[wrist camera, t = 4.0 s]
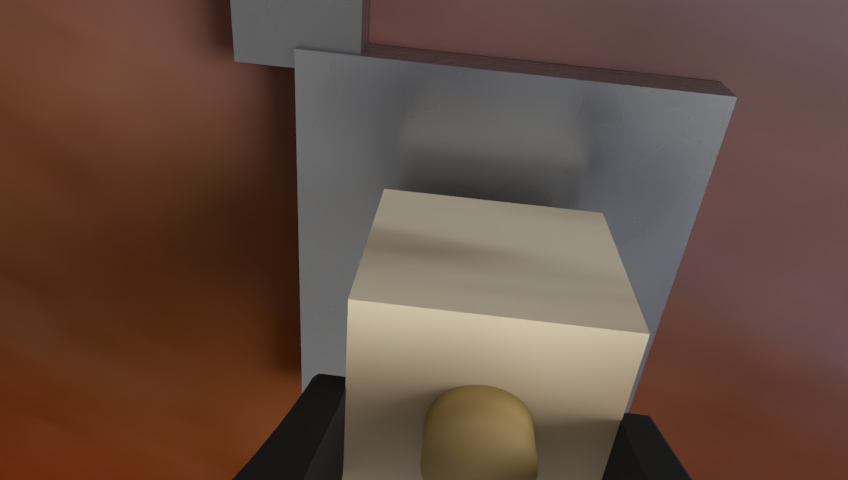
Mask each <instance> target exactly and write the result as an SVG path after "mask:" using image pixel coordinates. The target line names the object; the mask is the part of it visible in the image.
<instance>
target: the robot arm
mask: <svg viewBox="0 0 848 480" xmlns="http://www.w3.org/2000/svg"><path fill="white" fill-rule="evenodd" d="M345 379H346V377H343V376H335V375H328V374H320V373H319V374H317V375H315V376H314V377H313V378H312V379H311V381H310V383H309V384H308V386H307V387H306V389H305V390H304V392H303V393H302V395H301V396H300V397H299V399H298V400H297V402H296V403H295V404H294V406H293V407H292V409H291V410H290V411H289V413H288V414H287V415H286V416H285V418H284V419H283V420H282V422H281V423H280V424H279V426H278V427H277V428H276V429H275V431H274V432H273V433H272V434H271V435H270V437H269V438H268V439H267V440H266V442H265V443H264V444H263V445H262V446H261V448H260V449H259V450H258V451H257V452H256V454H255V455H254V456H253V457H252V458H251V460H250V461H249V462H248V463H247V464H246V465H245V466H244V467H243V468H242V469H241V471H240V472H239V473H238V474H237V475H236V476H235V477H234V478H233V479H232V480H342V476H343V463H344V432H345V402H346V387H345ZM602 480H692V479H691V477H690V476H689V474H688V473H687V471H686V470H685V468H684V467H683V465H682V464H681V462H680V461H679V459H678V458H677V456H676V455H675V453H674V452H673V450H672V449H671V447H670V446H669V444H668V443H667V441H666V440H665V438H664V437H663V435H662V434H661V432H660V431H659V429H658V427H657V426H656V424H655V423H654V421H653V420H652V419H651V417H650V416H647V415H639V414H631V413H624V415H623V418H622V420H621V422H620V425H619V428H618V431H617V434H616V437H615V440H614V443H613V446H612V449H611V452H610V455H609V458H608V462H607V465H606V468H605V471H604V474H603V477H602Z"/></svg>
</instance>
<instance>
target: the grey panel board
mask: <svg viewBox="0 0 848 480" xmlns="http://www.w3.org/2000/svg"><path fill="white" fill-rule="evenodd" d="M230 5H231V19H232V33H233V47H234V61H235V62H244V63H253V64H262V65H271V66H280V67H289V68H295V104H296V148H297V191H298V235H299V279H300V323H301V367H302V393H303V392H304V390H305V389H306V387H307V386H308V384H309V383H310V381H311V379H312V378H313V377H314V376H315V375H317V374H319V373H320V374H328V375H335V376H343V377H346V348H347V316H348V298H349V295H350V292H351V289H352V286H353V283H354V279H355V276H356V273H357V270H358V267H359V264H360V261H361V258H362V255H363V252H364V249H365V246H366V243H367V240H368V237H369V234H370V231H371V227H372V224H373V221H374V218H375V215H376V212H377V209H378V206H379V203H380V200H381V197H382V194H383V191H384V189H391V190H400V191H409V192H418V193H427V194H436V195H445V196H454V197H463V198H472V199H481V200H490V201H499V202H509V203H518V204H527V205H536V206H545V207H554V208H563V209H572V210H581V211H590V212H599V213H603V215H604V217H605V220H606V222H607V225H608V228H609V230H610V233H611V235H612V238H613V240H614V243H615V246H616V248H617V251H618V253H619V256H620V258H621V261H622V264H623V266H624V269H625V271H626V274H627V276H628V279H629V282H630V284H631V287H632V289H633V292H634V294H635V297H636V300H637V302H638V305H639V307H640V310H641V312H642V315H643V318H644V320H645V323H646V325H647V328H648V330H649V333H650V336H649V339H648V342H647V345H646V348H645V351H644V354H643V357H642V360H641V363H640V366H639V369H638V372H637V375H636V379H635V382H634V385H633V388H632V391H631V394H630V397H629V400H628V403H627V406H626V409H625V412H624V413H628V411H629V408H630V406H631V403H632V400H633V397H634V394H635V391H636V388H637V385H638V383H639V380H640V377H641V374H642V371H643V368H644V365H645V362H646V359H647V357H648V354H649V351H650V348H651V345H652V342H653V339H654V336H655V334H656V331H657V328H658V325H659V322H660V319H661V316H662V313H663V311H664V308H665V305H666V302H667V299H668V296H669V293H670V290H671V287H672V285H673V282H674V279H675V276H676V273H677V270H678V267H679V264H680V262H681V259H682V256H683V253H684V250H685V247H686V244H687V241H688V239H689V236H690V233H691V230H692V227H693V224H694V221H695V218H696V215H697V213H698V210H699V207H700V204H701V201H702V198H703V195H704V192H705V190H706V187H707V184H708V181H709V178H710V175H711V172H712V169H713V167H714V164H715V161H716V158H717V155H718V152H719V149H720V146H721V143H722V141H723V138H724V135H725V132H726V129H727V126H728V123H729V120H730V118H731V115H732V112H733V109H734V106H735V103H736V100H737V96H736V95H735V94H734V93H732V92H731V91H730V90H729V89H728V88H727V87H726V86H725V85H724V84H723V83H722V82H719V81H709V80H700V79H691V78H682V77H672V76H663V75H654V74H645V73H635V72H626V71H617V70H607V69H598V68H589V67H580V66H570V65H561V64H552V63H543V62H533V61H524V60H515V59H506V58H496V57H487V56H478V55H469V54H459V53H450V52H441V51H432V50H422V49H413V48H404V47H395V46H385V45H376V44H368V36H369V8H370V0H230Z"/></svg>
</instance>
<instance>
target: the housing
mask: <svg viewBox="0 0 848 480" xmlns="http://www.w3.org/2000/svg"><path fill="white" fill-rule="evenodd" d="M649 336H650V333H649V330H648V328H647V325H646V323H645V320H644V318H643V315H642V312H641V310H640V307H639V305H638V302H637V300H636V297H635V294H634V292H633V289H632V287H631V284H630V282H629V279H628V276H627V274H626V271H625V269H624V266H623V264H622V261H621V258H620V256H619V253H618V251H617V248H616V246H615V243H614V240H613V238H612V235H611V233H610V230H609V228H608V225H607V222H606V220H605V217H604V215H603V213H599V212H590V211H581V210H572V209H563V208H554V207H545V206H536V205H527V204H518V203H509V202H499V201H490V200H481V199H472V198H463V197H454V196H445V195H436V194H427V193H418V192H409V191H400V190H391V189H384V191H383V194H382V197H381V200H380V203H379V206H378V209H377V212H376V215H375V218H374V221H373V224H372V227H371V231H370V234H369V237H368V240H367V243H366V246H365V249H364V252H363V255H362V258H361V261H360V264H359V267H358V270H357V273H356V276H355V279H354V283H353V286H352V289H351V292H350V295H349V298H348V316H347V348H346V379H345V387H346V402H345V432H344V463H343V476H342V480H602V477H603V474H604V471H605V468H606V465H607V462H608V458H609V455H610V452H611V449H612V446H613V443H614V440H615V437H616V434H617V431H618V428H619V425H620V422H621V420H622V418H623V415H624V412H625V409H626V406H627V403H628V400H629V397H630V394H631V391H632V388H633V385H634V382H635V379H636V375H637V372H638V369H639V366H640V363H641V360H642V357H643V354H644V351H645V348H646V345H647V342H648V339H649Z"/></svg>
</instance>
